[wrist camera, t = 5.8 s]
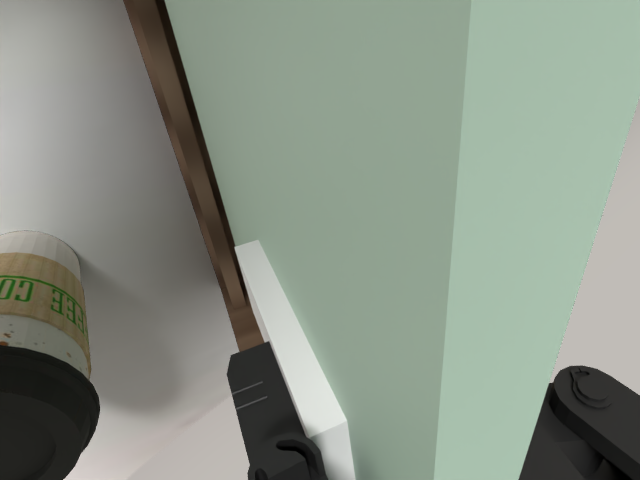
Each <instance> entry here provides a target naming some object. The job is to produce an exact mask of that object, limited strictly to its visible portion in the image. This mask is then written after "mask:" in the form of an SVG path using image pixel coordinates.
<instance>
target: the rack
mask: <svg viewBox="0 0 640 480" xmlns="http://www.w3.org/2000/svg"><path fill="white" fill-rule="evenodd" d="M123 1H124V4H125V7H126V10H127V13H128V16H129V19H130V22H131V25H132V28H133V30H134V33H135V36H136V39H137V42H138V45H139V48H140V51H141V54H142V57H143V60H144V63H145V66H146V69H147V72H148V75H149V78H150V81H151V84H152V87H153V90H154V93H155V96H156V99H157V102H158V104H159V107H160V110H161V113H162V116H163V119H164V122H165V125H166V128H167V131H168V134H169V137H170V140H171V143H172V146H173V149H174V152H175V155H176V158H177V161H178V164H179V167H180V170H181V173H182V175H183V178H184V181H185V184H186V187H187V190H188V193H189V196H190V199H191V202H192V205H193V208H194V211H195V214H196V217H197V220H198V223H199V226H200V229H201V232H202V235H203V238H204V241H205V244H206V246H207V249H208V252H209V255H210V258H211V261H212V264H213V267H214V270H215V273H216V276H217V279H218V282H219V285H220V288H221V291H222V294H223V298H224V301H225V304H226V308H227V311H228V314H229V318H230V321H231V324H232V328H233V331H234V334H235V338H236V341H237V344H238V348H239V351H240V352H241V351H244V350H246V349H249V348H252V347H254V346H257V345H260V344H262V343H265V342H264V339H263V337H262V334H261V331H260V329H259V326H258V323H257V321H256V318H255V315H254V313H253V310H252V306H251V303H250V299H249V296H248V293H247V289H246V286H245V282H244V279H243V275H242V272H241V268H240V265H239V262H238V258H237V255H236V251H235V248H234V247H236V246H235V243H234V239H233V236H232V233H231V229H230V226H229V222H228V219H227V215H226V212H225V208H224V205H223V201H222V198H221V194H220V191H219V188H218V184H217V181H216V177H215V174H214V170H213V167H212V163H211V160H210V156H209V153H208V149H207V146H206V143H205V139H204V136H203V132H202V129H201V125H200V122H199V118H198V115H197V111H196V108H195V104H194V101H193V98H192V94H191V91H190V87H189V84H188V80H187V77H186V73H185V70H184V66H183V63H182V59H181V56H180V53H179V49H178V46H177V42H176V39H175V35H174V32H173V28H172V25H171V21H170V18H169V14H168V11H167V7H166V4H165V1H164V0H123Z"/></svg>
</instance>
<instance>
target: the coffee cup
mask: <svg viewBox="0 0 640 480" xmlns="http://www.w3.org/2000/svg"><path fill="white" fill-rule="evenodd" d="M90 373H91V362H90V352H89V341H88V330H87V320H86V309H85V298H84V291H83V288H82V286H81V275H80V265H79V261H78V258H77V256H76V254H75V253H74V251H73V250H72V249H71V248H70V247H69V246H68V245H67V244H66V243H64V242H63V241H61V240H59V239H58V238H56V237H53V236H51V235H48V234H45V233H41V232H34V231H16V232H10V233H6V234H3V235H0V480H63V479H64V478H65V477H66V476H67V475H68V474H69V473H70V471H71V470H72V469H73V468H74V467H75V465H76V463H77V461H78V459H79V457H80V454H81V453H82V452H83V450H84V449H85V448H86V447H87V446H88V444H89V442H90V440H91V438H92V436H93V434H94V432H95V430H96V426H97V423H98V418H99V413H100V404H99V397H98V395H97V392H96V390H95V388H94V386H93V384H92V383H91V382H90V381H89V379H90Z"/></svg>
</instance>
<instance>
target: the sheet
mask: <svg viewBox="0 0 640 480" xmlns="http://www.w3.org/2000/svg"><path fill="white" fill-rule="evenodd" d="M164 1H165V4H166V7H167V11H168V14H169V18H170V21H171V25H172V28H173V32H174V35H175V39H176V42H177V46H178V49H179V53H180V56H181V59H182V63H183V66H184V70H185V73H186V77H187V80H188V84H189V87H190V91H191V94H192V98H193V101H194V104H195V108H196V111H197V115H198V118H199V122H200V125H201V129H202V132H203V136H204V139H205V143H206V146H207V149H208V153H209V156H210V160H211V163H212V167H213V170H214V174H215V177H216V181H217V184H218V188H219V191H220V194H221V198H222V201H223V205H224V208H225V212H226V215H227V219H228V222H229V226H230V229H231V233H232V236H233V239H234V243H235V246H239V245H242V244H246V243H249V242H252V241H255V240H259V242H260V244H261V246H262V248H263V250H264V252H265V254H266V256H267V258H268V261H269V263H270V265H271V267H272V269H273V271H274V273H275V275H276V277H277V279H278V281H279V283H280V285H281V287H282V289H283V291H284V293H285V295H286V297H287V299H288V301H289V303H290V305H291V307H292V309H293V312H294V314H295V316H296V318H297V320H298V322H299V324H300V326H301V328H302V330H303V332H304V334H305V336H306V338H307V340H308V342H309V344H310V346H311V348H312V350H313V352H314V354H315V356H316V358H317V360H318V363H319V365H320V367H321V369H322V371H323V373H324V375H325V377H326V379H327V381H328V383H329V385H330V387H331V389H332V391H333V393H334V395H335V397H336V399H337V401H338V403H339V405H340V407H341V409H342V411H343V413H344V416H345V418H346V420H347V423H348V430H349V437H350V444H351V452H352V459H353V466H354V473H355V480H518V479H519V476H520V473H521V470H522V467H523V464H524V460H525V457H526V454H527V451H528V448H529V445H530V442H531V438H532V435H533V432H534V429H535V426H536V423H537V419H538V416H539V413H540V410H541V407H542V404H543V400H544V397H545V394H546V391H547V388H548V385H549V381H550V378H551V375H552V371H553V369H554V365H555V362H556V359H557V356H558V353H559V350H560V346H561V343H562V340H563V337H564V334H565V331H566V327H567V324H568V321H569V318H570V315H571V311H572V309H573V306H574V302H575V299H576V296H577V293H578V290H579V286H580V283H581V280H582V277H583V274H584V271H585V268H586V264H587V261H588V258H589V255H590V252H591V249H592V246H593V242H594V239H595V236H596V233H597V230H598V226H599V223H600V220H601V217H602V214H603V211H604V208H605V204H606V201H607V198H608V195H609V192H610V189H611V186H612V182H613V179H614V176H615V173H616V170H617V167H618V163H619V160H620V157H621V154H622V151H623V148H624V144H625V141H626V138H627V135H628V132H629V129H630V125H631V122H632V119H633V116H634V113H635V109H636V106H637V103H638V100H639V97H640V0H164Z"/></svg>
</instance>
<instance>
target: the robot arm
mask: <svg viewBox="0 0 640 480" xmlns="http://www.w3.org/2000/svg"><path fill="white" fill-rule="evenodd" d="M234 248H235V251H236V255H237V258H238V262H239V265H240V268H241V272H242V275H243V279H244V282H245V286H246V289H247V293H248V296H249V299H250V303H251V306H252V310H253V313H254V315H255V318H256V321H257V323H258V326H259V329H260V331H261V334H262V337H263V339H264V342H265V343H262V344H260V345H257V346H254V347H252V348H249V349H246V350H244V351H241V352H238V353H236V354H233V355H231V357H230V362H229V366H228V371H227V377H228V381H229V385H230V389H231V393H232V397H233V400H234V404H235V408H236V411H237V416H238V420H239V424H240V428H241V432H242V436H243V439H244V444H245V447H246V451H247V455H248V459H249V463H250V467H249V470H248V480H355V473H354V466H353V459H352V452H351V444H350V437H349V430H348V423H347V420H346V418H345V416H344V413H343V411H342V409H341V407H340V405H339V403H338V401H337V399H336V397H335V395H334V393H333V391H332V389H331V387H330V385H329V383H328V381H327V379H326V377H325V375H324V373H323V371H322V369H321V367H320V365H319V363H318V360H317V358H316V356H315V354H314V352H313V350H312V348H311V346H310V344H309V342H308V340H307V338H306V336H305V334H304V332H303V330H302V328H301V326H300V324H299V322H298V320H297V318H296V316H295V314H294V312H293V309H292V307H291V305H290V303H289V301H288V299H287V297H286V295H285V293H284V291H283V289H282V287H281V285H280V283H279V281H278V279H277V277H276V275H275V273H274V271H273V269H272V267H271V265H270V263H269V261H268V258H267V256H266V254H265V252H264V250H263V248H262V246H261V244H260V242H259V240H255V241H252V242H249V243H246V244H242V245H239V246H236V247H234ZM518 480H640V395H638V394H636V393H635V392H634V391H632V390H631V389H629V388H628V387H626V386H624V385H623V384H622V383H620V382H618V381H617V380H616V379H614V378H613V377H611V376H609V375H608V374H606V373H604V372H602V371H600V370H598V369H594V368H591V367H586V366H569V367H567V368H565V369H562V370H560V372H559V373H558V374H557V376H556V377H555V379H554V382H553V383H549V385H548V388H547V391H546V394H545V397H544V400H543V404H542V407H541V410H540V413H539V416H538V419H537V423H536V426H535V429H534V432H533V435H532V438H531V442H530V445H529V448H528V451H527V454H526V457H525V460H524V464H523V467H522V470H521V473H520V476H519V479H518Z"/></svg>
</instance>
